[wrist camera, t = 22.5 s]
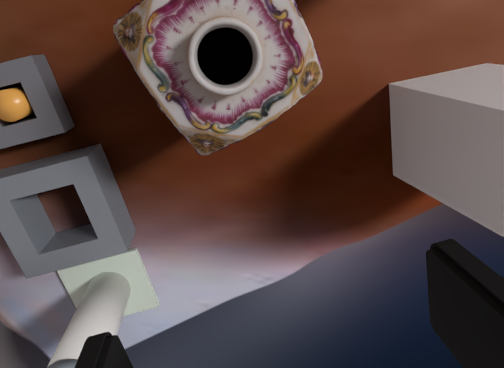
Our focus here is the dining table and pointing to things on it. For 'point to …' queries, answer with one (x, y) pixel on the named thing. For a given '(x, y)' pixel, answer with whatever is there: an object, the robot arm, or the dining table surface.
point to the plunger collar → (34, 101)
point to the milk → (453, 139)
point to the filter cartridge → (93, 316)
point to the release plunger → (14, 104)
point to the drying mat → (122, 264)
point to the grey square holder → (38, 224)
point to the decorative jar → (220, 63)
